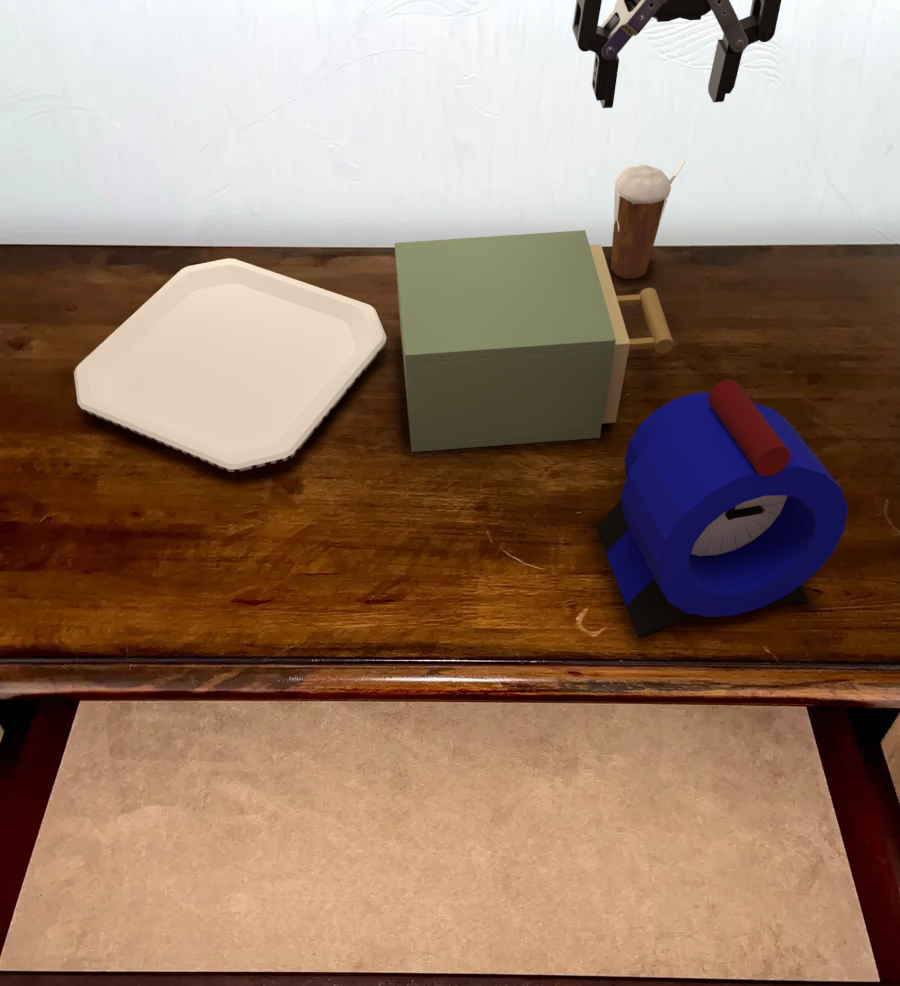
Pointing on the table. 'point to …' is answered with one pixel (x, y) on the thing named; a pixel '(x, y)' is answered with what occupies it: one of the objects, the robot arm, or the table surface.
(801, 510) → the alarm clock
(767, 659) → the table surface
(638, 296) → the drawer
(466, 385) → the cabinet
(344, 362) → the plate
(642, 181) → the milkshake
